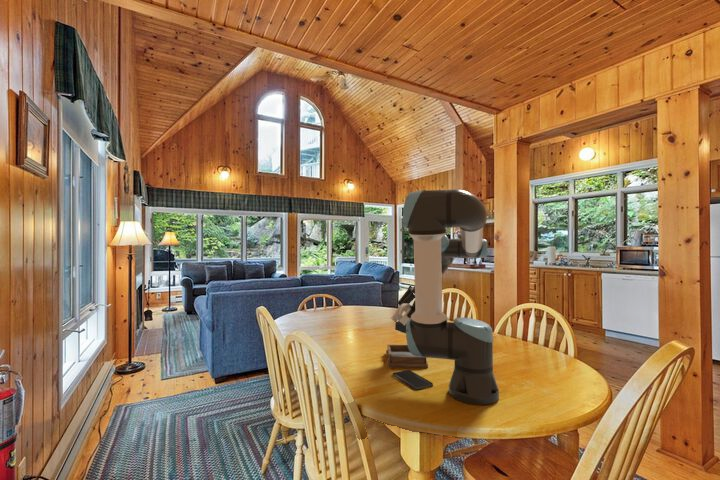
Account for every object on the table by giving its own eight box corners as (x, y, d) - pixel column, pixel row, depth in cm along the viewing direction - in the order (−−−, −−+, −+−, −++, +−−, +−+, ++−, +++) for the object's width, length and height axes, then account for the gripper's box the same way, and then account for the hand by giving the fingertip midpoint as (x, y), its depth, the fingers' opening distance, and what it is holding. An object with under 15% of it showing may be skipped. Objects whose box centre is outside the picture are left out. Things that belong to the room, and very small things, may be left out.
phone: (415, 388, 117) (391, 372, 130) (415, 392, 117) (391, 376, 130) (434, 384, 120) (409, 369, 134) (434, 387, 120) (409, 372, 134)
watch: (415, 330, 146) (417, 303, 145) (403, 334, 141) (405, 307, 139) (404, 326, 150) (406, 300, 149) (392, 330, 144) (394, 304, 143)
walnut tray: (427, 368, 137) (427, 357, 137) (388, 367, 137) (388, 357, 137) (421, 353, 154) (421, 344, 154) (386, 353, 154) (386, 344, 154)
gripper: (449, 286, 145) (417, 332, 137) (420, 281, 161) (390, 322, 153) (439, 274, 142) (406, 320, 134) (410, 270, 158) (379, 311, 150)
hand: (397, 321), depth 144 cm, fingers closed on watch, 5 cm apart
